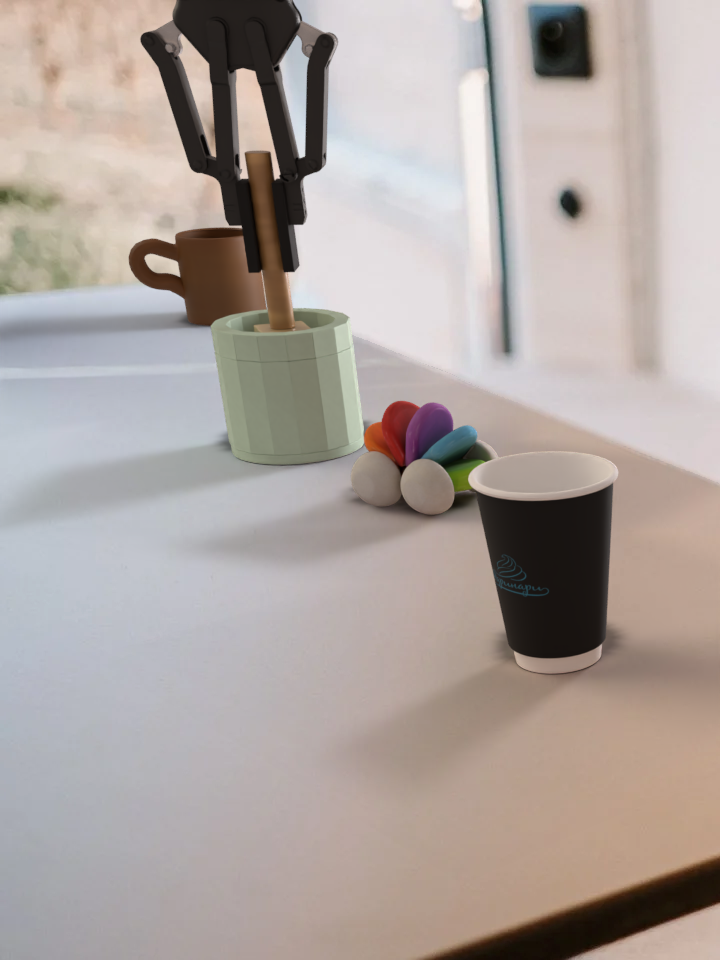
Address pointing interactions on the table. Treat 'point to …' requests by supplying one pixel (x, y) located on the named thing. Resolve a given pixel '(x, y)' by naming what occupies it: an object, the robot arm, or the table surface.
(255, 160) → the brush
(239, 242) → the mug
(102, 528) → the table surface
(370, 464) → the rainbow petal wheeled toy
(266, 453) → the jar
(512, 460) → the dixie cup
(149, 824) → the table surface
